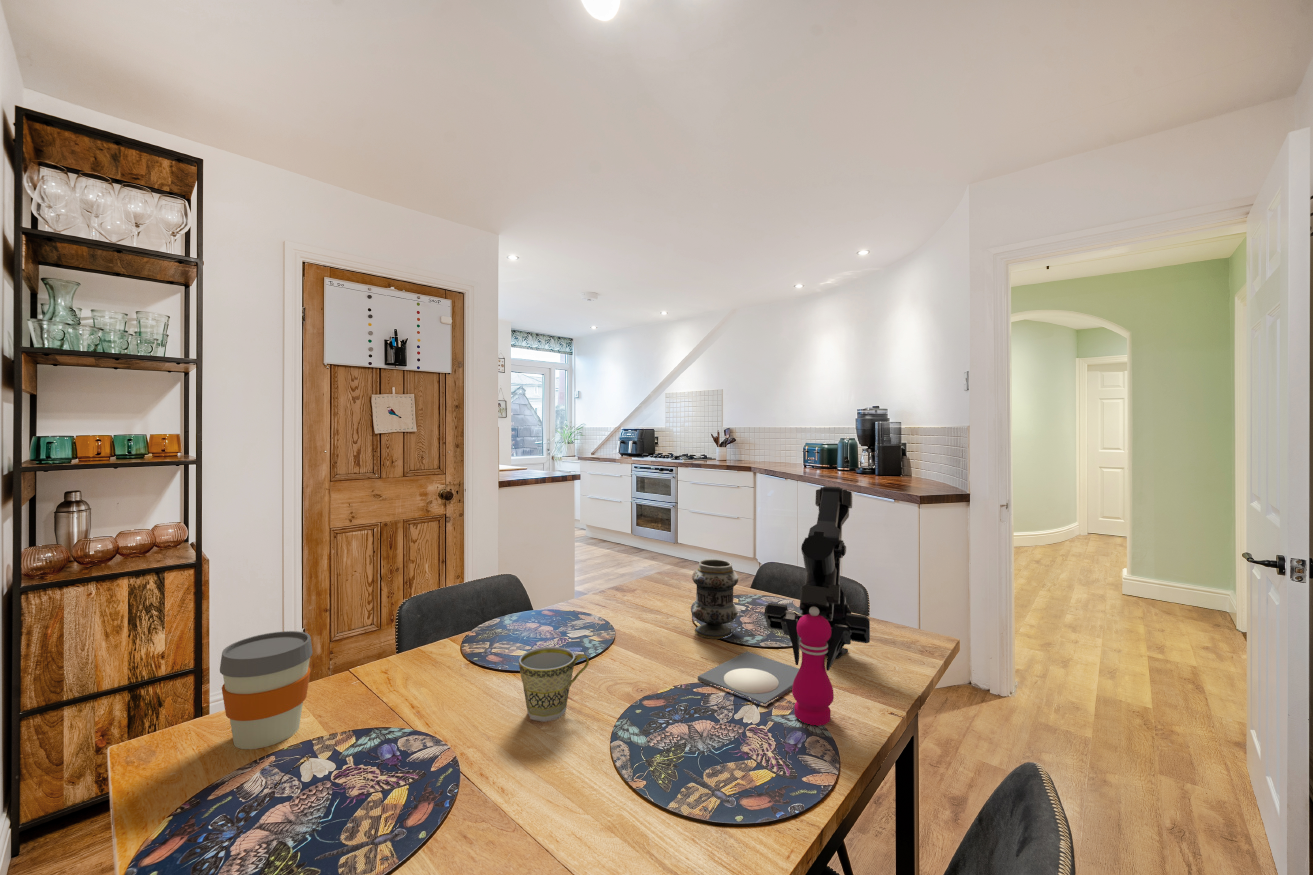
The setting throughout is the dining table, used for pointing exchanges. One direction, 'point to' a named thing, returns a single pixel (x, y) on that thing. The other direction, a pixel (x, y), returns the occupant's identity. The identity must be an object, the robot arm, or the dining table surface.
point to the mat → (753, 676)
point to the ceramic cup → (548, 680)
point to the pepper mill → (813, 671)
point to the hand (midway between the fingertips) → (811, 666)
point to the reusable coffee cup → (265, 686)
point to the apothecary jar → (714, 598)
